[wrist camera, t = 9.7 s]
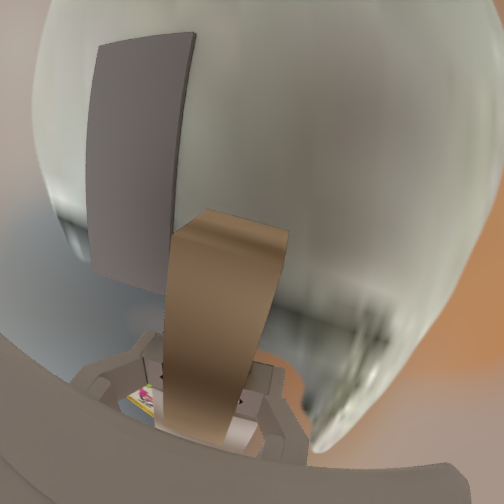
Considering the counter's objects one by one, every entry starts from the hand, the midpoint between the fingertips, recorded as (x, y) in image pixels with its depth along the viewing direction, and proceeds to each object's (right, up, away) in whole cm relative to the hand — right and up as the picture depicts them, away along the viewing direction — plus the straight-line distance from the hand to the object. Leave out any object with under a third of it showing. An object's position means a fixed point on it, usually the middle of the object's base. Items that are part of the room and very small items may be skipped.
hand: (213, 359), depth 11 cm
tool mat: (-9, +12, +11) cm, 19 cm away
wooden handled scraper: (0, -2, +2) cm, 3 cm away
